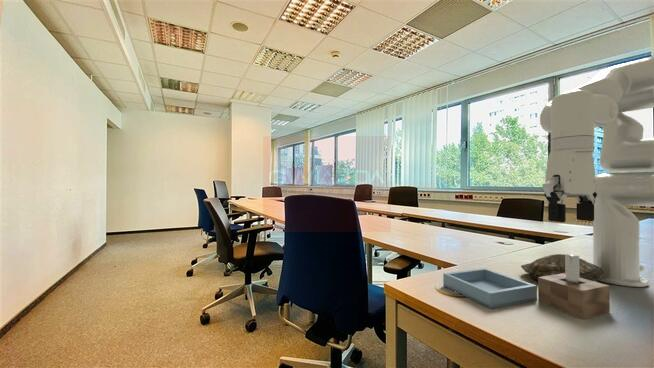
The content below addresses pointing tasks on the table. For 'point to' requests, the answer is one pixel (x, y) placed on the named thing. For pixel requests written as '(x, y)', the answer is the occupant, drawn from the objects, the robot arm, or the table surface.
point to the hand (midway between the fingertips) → (571, 221)
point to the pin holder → (574, 296)
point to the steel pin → (572, 268)
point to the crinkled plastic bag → (560, 268)
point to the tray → (490, 287)
